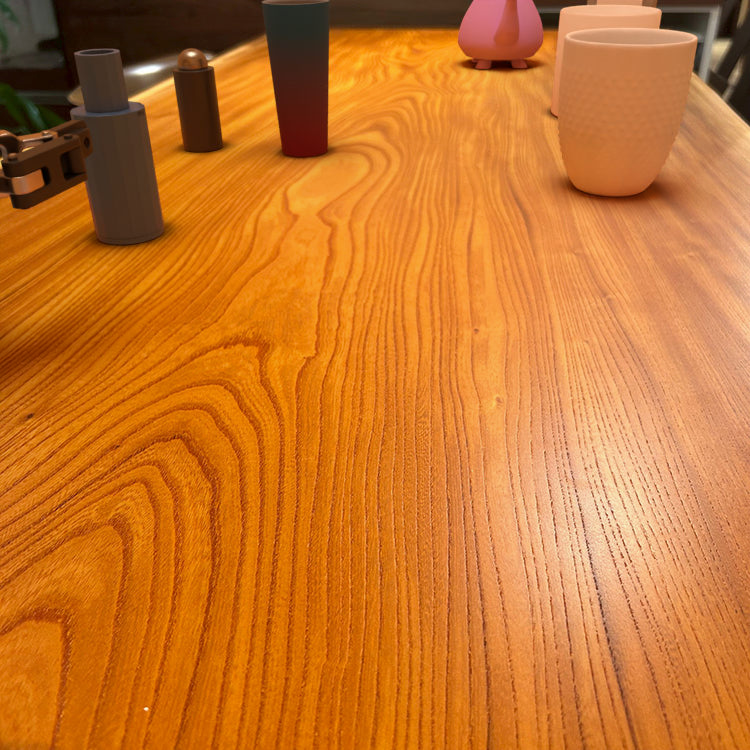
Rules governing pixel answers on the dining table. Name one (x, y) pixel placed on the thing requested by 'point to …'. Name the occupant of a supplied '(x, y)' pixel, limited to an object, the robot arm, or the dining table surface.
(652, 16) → the cup
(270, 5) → the cup
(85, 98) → the bottle
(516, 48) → the teapot
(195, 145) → the pepper mill
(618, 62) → the mug
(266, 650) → the dining table surface
